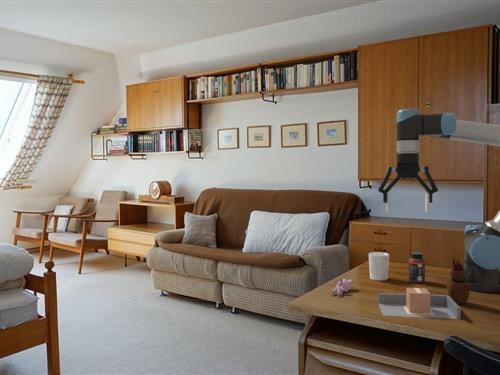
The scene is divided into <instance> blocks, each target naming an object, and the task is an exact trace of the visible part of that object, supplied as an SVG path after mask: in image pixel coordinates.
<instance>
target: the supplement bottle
mask: <svg viewBox="0 0 500 375" xmlns="http://www.w3.org/2000/svg"><path fill="white" fill-rule="evenodd" d="M425 275H426V260H425V259H424V257H423V252H418V251H417V252H415V251H413V252H411V257H410V258H409V259H408V281H409V282H411V283H413V284H423V283H425V280H426V276H425Z"/></svg>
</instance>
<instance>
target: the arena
mask: <svg viewBox="0 0 500 375" xmlns="http://www.w3.org/2000/svg"><path fill="white" fill-rule="evenodd" d="M377 304H378V306H379V309H380V311H381V315H382V316H384V317H403V318H404V317H405V318H427V319H429V318H430V319H449V320H450V319H452V320H453V319H455V320H461V314H462V313H461V309H462V308H461V307H460V306H459V304H456V303H455V302H454V301H453V300H452V299H451V297H450V296H449V295H448V294H446V295H445V294H430V313H410V312H409V310H408V309H407V307H406V293H394V292H393V293H392V292H391V293H388V292H378V293H377Z"/></svg>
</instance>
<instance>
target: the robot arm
mask: <svg viewBox="0 0 500 375" xmlns="http://www.w3.org/2000/svg"><path fill="white" fill-rule="evenodd" d="M420 136H421V137H423V136H425V137H426V136H429V137H430V138H432V139H433V138H434V139H444V140H454V141H459V142H467V143H475V144H481V145H487V146H494V147H495V146H496V147H500V124H493V123H487V122H486V123H485V122H478V121H473V120H472V121H470V120H462V119H457V115H456V113H454V112H443V113H426V114H425V113H424V114H421V113H420V110H419V108H404V109H399V110H398V111H397V112H396V152H397V154H396V166H395V167H393V166H387V168H386V169H387V171H386V174H385V176H384V177H383V179H382V181H381V183H380V185H379V187H378V189H377V191H378V192H379V193H381V194H382V196H383V197H382V198H383V199H382V202H383V203H384V204H385V205H386V208H385V211H386V213H390V208H391V207H390V203H391V202H390V194H389V192H390V191H391V190H392V188H394V186H395V185H396V184H397V183H398V182H399V181H400V180H401V179H403V180H407V179H410V180H413V179H415V180H416V182H418V183H419V185H420V186H421V187H422V188H423V189H424V190H425V191H426V192H427V193H425V194H424V195H425V196H424V197H425V200H424V201H425V202H424V204H425V205H424V206H425V207H424V208H425V209H424V211H425V213H430V204H433V194H434V193H437V192H439V189H438V187H437V185H436V183H435V182H434V180H433V177H432V175H431V174H430V171H429V166H427V165H424V166H420V163H419V162H420V160H419V159H420V154H419V153H418V152H419V151H420V143H419V142H420ZM394 171H395V172H396V175H395V177H394V178H393V179H392V180H391V182H390V183H389V184H387V183H388V181H389V179H390V176H391V175H392V173H394ZM420 171H421V172H422V173H423V175H424V177H425V178H426V181H427V182H428V184H429V186H428V184H427V183H426V182H425V181H424V180H423V179H422V178H421V176H420V175H419V172H420ZM386 185H387V186H386ZM385 186H386V188H385ZM384 188H385V189H384ZM463 232H464V233H463V234H464V264H463V268H464V270H465V271H466V273H467V277H466V279H465V280H464V281H467V282H468V284H469V286H470V291H474V292H479V293H480V292H481V293H499V292H500V210H499V211H498V212H497V213H496V214H495V216H494V218H493V219H492V220H487V221H485V222H484V223H483V224H482V225H481V224H480V225H478V224H477V225H475V224H474V225H473V224H471V225H470V224H468V225H466V226H465V228H464V231H463Z"/></svg>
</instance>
